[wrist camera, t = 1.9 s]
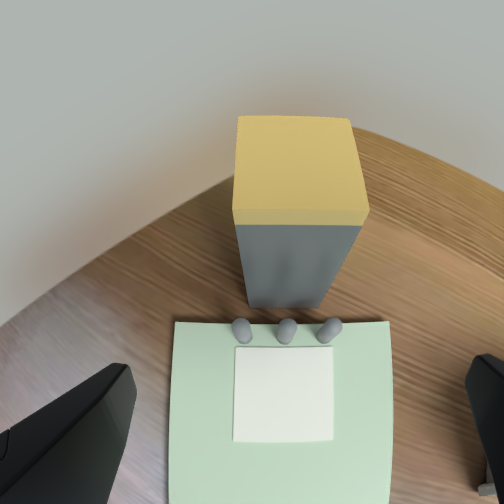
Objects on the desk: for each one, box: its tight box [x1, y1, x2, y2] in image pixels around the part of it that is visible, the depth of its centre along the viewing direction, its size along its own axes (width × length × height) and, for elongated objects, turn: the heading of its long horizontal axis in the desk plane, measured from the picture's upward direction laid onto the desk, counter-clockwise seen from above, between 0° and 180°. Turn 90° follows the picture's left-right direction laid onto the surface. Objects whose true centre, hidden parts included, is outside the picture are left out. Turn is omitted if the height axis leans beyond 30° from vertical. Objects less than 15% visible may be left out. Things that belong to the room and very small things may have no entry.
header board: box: [169, 317, 393, 504], centre depth 16 cm, size 15×14×4 cm
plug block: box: [232, 116, 370, 308], centre depth 17 cm, size 4×4×12 cm
